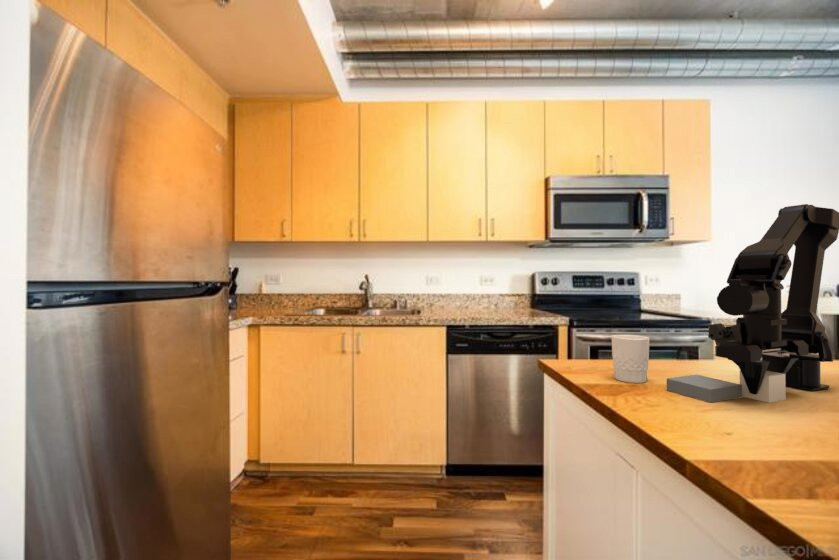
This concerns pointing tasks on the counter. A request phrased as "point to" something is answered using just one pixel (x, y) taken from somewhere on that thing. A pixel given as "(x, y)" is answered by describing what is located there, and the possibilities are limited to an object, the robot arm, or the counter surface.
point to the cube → (767, 388)
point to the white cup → (630, 357)
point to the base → (704, 388)
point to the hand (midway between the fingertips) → (762, 392)
